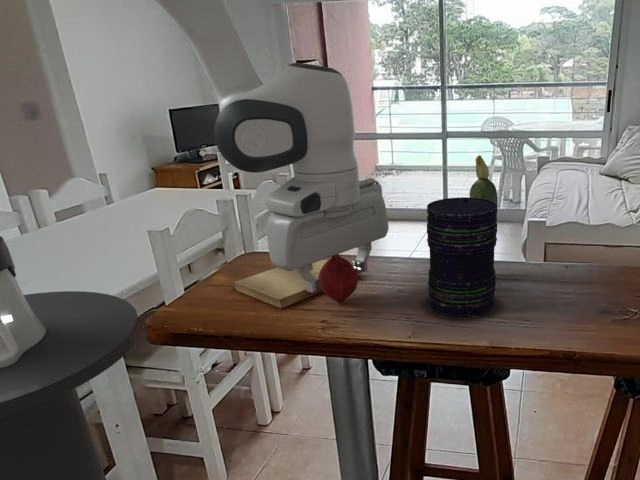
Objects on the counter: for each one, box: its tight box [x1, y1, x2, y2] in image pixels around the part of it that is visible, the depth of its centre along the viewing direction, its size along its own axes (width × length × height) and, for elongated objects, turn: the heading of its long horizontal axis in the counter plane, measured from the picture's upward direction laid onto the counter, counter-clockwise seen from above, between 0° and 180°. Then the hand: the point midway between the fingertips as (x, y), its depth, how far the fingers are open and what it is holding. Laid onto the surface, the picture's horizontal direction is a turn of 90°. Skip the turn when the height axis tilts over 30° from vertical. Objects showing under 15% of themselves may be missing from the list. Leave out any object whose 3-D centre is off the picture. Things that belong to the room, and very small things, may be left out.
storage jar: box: [426, 196, 498, 320], centre depth 82 cm, size 10×10×15 cm
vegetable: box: [469, 154, 499, 216], centre depth 90 cm, size 4×4×20 cm
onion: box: [318, 254, 359, 303], centre depth 86 cm, size 6×6×8 cm
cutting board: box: [234, 259, 359, 309], centre depth 94 cm, size 16×12×2 cm
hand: (337, 280), depth 86 cm, fingers open, 8 cm apart
